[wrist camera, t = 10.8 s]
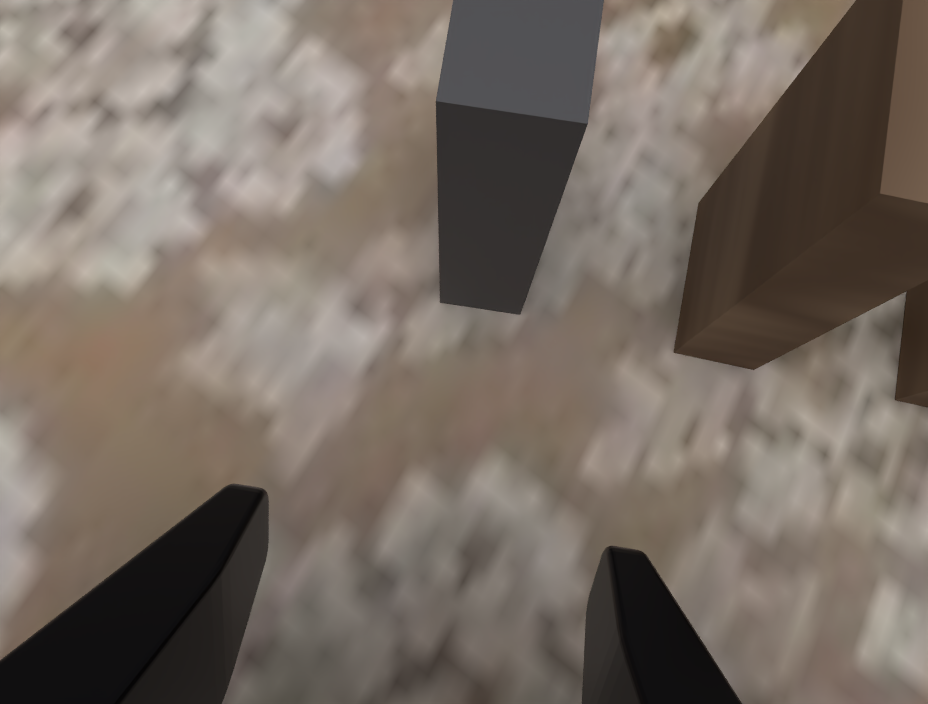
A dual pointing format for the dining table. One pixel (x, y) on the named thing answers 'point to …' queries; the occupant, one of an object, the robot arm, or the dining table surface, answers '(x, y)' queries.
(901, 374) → the domino
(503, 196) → the dark gray rectangular block
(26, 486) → the dining table surface
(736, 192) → the domino
